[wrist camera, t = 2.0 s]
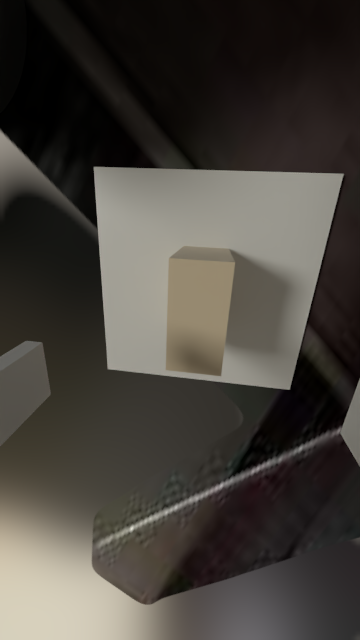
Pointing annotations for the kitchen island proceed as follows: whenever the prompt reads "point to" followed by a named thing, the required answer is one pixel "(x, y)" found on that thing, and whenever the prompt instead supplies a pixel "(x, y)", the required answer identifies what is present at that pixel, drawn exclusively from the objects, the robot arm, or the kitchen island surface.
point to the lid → (210, 269)
